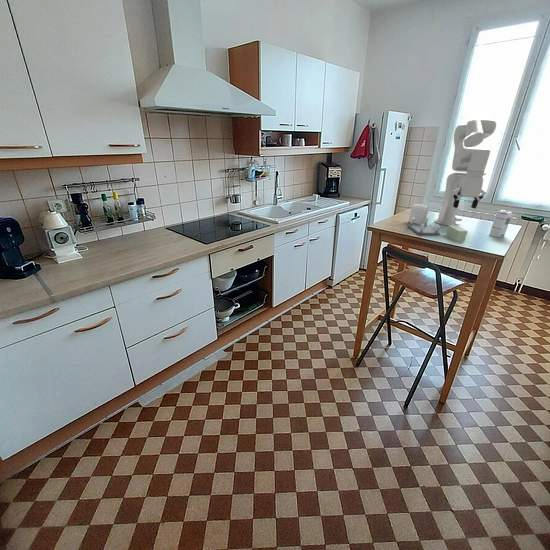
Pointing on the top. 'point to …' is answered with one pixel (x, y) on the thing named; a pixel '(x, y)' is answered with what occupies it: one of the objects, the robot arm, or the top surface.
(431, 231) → the standoff plate
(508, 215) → the syrup box
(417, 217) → the photo printer
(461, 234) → the green block
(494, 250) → the top surface
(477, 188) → the robot arm
